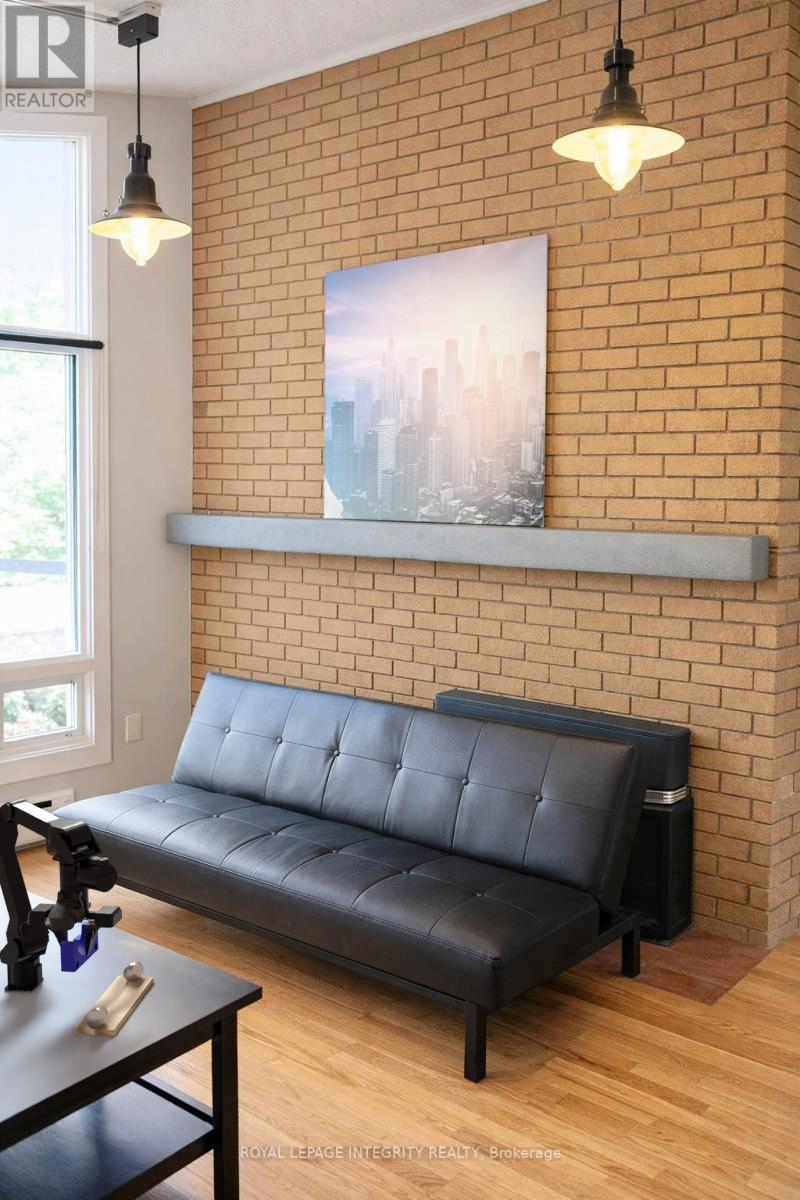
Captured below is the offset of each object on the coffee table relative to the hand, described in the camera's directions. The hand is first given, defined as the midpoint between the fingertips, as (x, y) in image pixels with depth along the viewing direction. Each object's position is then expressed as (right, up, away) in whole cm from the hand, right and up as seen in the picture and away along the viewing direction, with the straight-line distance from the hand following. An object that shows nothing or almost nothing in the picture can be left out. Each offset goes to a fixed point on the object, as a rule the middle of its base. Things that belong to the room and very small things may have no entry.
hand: (76, 954), depth 239 cm
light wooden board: (+8, -11, 0) cm, 14 cm away
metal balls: (+8, -10, 0) cm, 13 cm away
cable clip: (0, -1, 0) cm, 2 cm away
